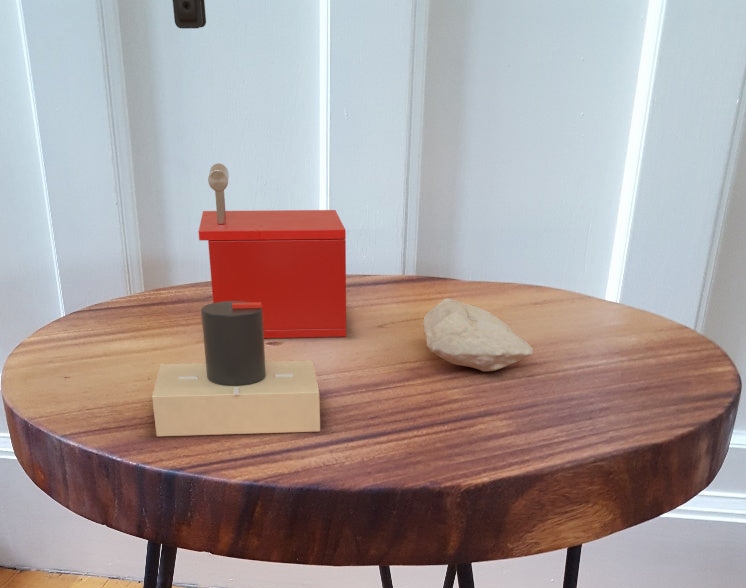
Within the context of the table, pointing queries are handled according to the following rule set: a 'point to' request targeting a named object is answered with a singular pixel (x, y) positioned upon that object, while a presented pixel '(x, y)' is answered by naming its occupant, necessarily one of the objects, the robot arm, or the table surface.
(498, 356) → the stone
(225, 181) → the box lid
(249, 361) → the valve knob
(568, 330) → the table surface
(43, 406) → the table surface
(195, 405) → the panel
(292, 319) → the red open box
